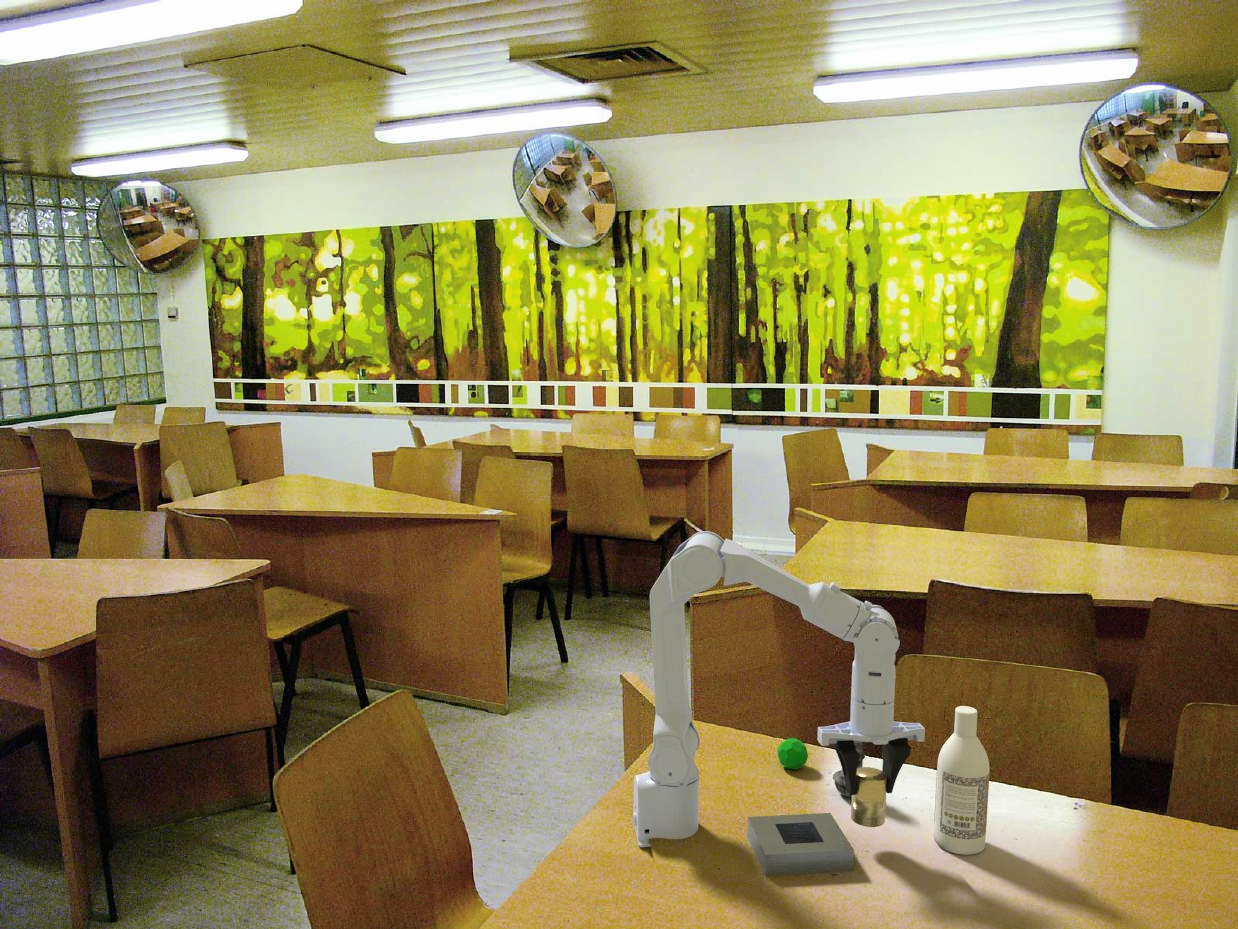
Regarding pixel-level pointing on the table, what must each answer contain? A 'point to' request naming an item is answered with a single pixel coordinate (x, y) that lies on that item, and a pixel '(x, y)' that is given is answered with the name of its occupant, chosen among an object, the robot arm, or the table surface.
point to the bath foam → (962, 788)
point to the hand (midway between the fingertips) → (868, 791)
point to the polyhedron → (792, 753)
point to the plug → (869, 797)
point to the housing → (799, 844)
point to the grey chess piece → (839, 775)
